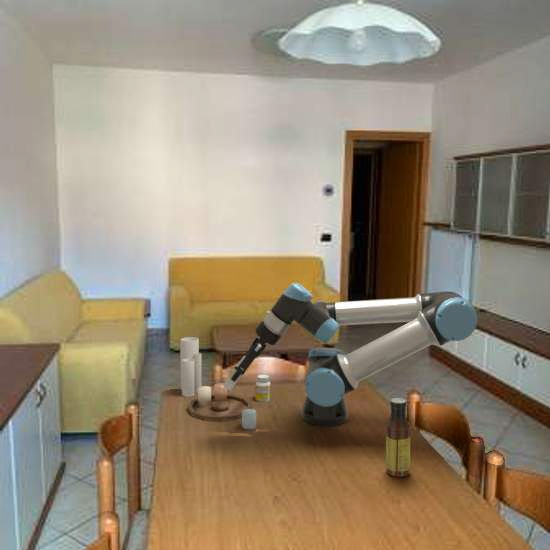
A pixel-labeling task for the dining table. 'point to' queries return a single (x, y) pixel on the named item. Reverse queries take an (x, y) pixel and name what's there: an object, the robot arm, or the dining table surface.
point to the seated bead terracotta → (220, 392)
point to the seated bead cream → (204, 396)
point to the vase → (190, 366)
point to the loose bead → (249, 419)
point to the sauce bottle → (398, 440)
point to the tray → (220, 408)
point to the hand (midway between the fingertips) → (231, 380)
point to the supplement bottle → (262, 389)
